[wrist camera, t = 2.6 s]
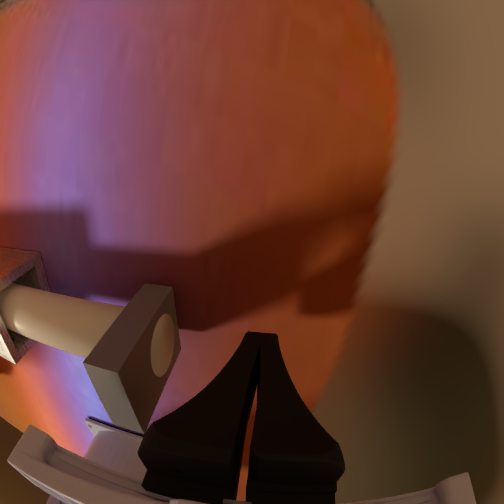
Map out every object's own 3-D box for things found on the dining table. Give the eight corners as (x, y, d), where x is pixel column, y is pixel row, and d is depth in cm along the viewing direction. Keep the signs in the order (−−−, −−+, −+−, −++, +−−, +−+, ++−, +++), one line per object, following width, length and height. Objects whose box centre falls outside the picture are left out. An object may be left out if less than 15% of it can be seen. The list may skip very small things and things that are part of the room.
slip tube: (172, 286, 14) (117, 372, 8) (181, 348, 15) (144, 434, 10) (-44, 251, 16) (-85, 280, 10) (-31, 290, 17) (-69, 321, 12)
